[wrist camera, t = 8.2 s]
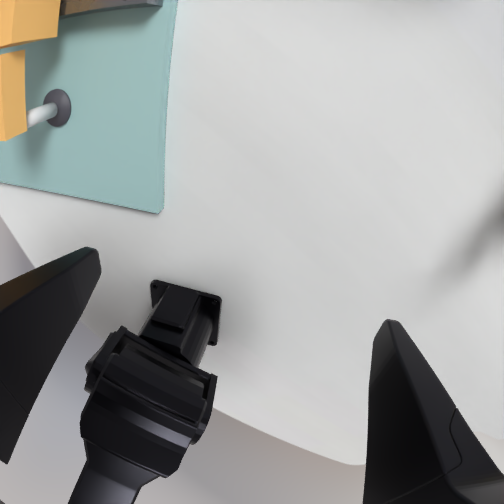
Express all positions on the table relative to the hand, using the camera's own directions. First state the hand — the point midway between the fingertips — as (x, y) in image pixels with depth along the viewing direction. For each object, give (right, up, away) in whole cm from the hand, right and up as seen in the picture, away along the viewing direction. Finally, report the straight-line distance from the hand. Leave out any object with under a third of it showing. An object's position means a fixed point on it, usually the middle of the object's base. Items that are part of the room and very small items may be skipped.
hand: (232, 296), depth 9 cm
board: (-16, +15, +10) cm, 24 cm away
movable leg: (-13, +16, +6) cm, 22 cm away
